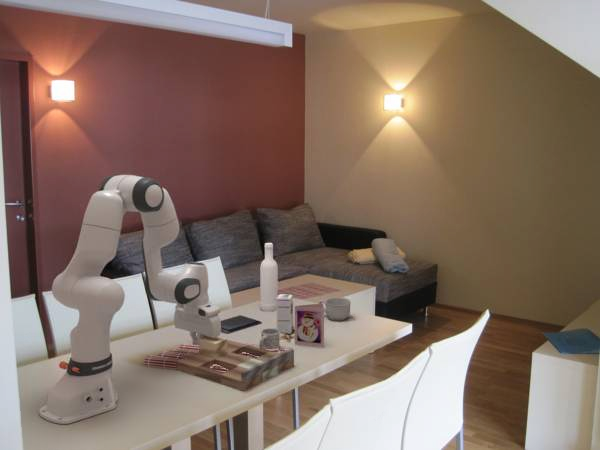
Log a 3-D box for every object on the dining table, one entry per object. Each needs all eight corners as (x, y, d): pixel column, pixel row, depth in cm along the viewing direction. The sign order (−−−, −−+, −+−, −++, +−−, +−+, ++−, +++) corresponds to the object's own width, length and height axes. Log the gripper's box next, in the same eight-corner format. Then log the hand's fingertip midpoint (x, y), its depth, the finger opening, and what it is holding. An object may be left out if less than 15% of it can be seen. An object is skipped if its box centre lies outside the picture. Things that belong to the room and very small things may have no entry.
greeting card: (293, 345, 238) (293, 306, 236) (299, 338, 245) (299, 301, 243) (323, 348, 235) (323, 309, 232) (328, 341, 242) (328, 303, 239)
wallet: (226, 331, 250) (203, 322, 261) (226, 335, 250) (203, 327, 261) (264, 320, 264) (240, 312, 275) (264, 324, 264) (241, 317, 275)
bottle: (270, 305, 290) (270, 241, 285) (281, 309, 284) (281, 243, 279) (256, 308, 285) (256, 243, 280) (267, 312, 279) (267, 245, 274)
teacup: (354, 317, 272) (355, 299, 271) (342, 324, 263) (343, 305, 262) (326, 312, 280) (326, 294, 278) (314, 318, 271) (314, 300, 269)
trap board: (244, 391, 197) (244, 373, 196) (177, 369, 214) (176, 352, 213) (293, 365, 218) (293, 349, 217) (228, 347, 235) (228, 332, 234)
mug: (268, 344, 239) (267, 327, 238) (282, 347, 236) (282, 330, 235) (252, 352, 231) (252, 334, 230) (267, 355, 227) (267, 338, 226)
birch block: (215, 357, 217) (215, 343, 216) (198, 352, 221) (198, 339, 221) (227, 352, 222) (227, 339, 221) (210, 348, 226) (210, 334, 226)
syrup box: (291, 333, 251) (290, 298, 249) (276, 332, 252) (276, 297, 250) (293, 328, 257) (293, 294, 255) (279, 328, 258) (279, 293, 256)
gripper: (169, 303, 227) (170, 340, 229) (211, 313, 215) (211, 352, 217) (182, 299, 232) (183, 336, 234) (223, 309, 220) (224, 347, 223)
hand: (197, 344), depth 226 cm, fingers closed
